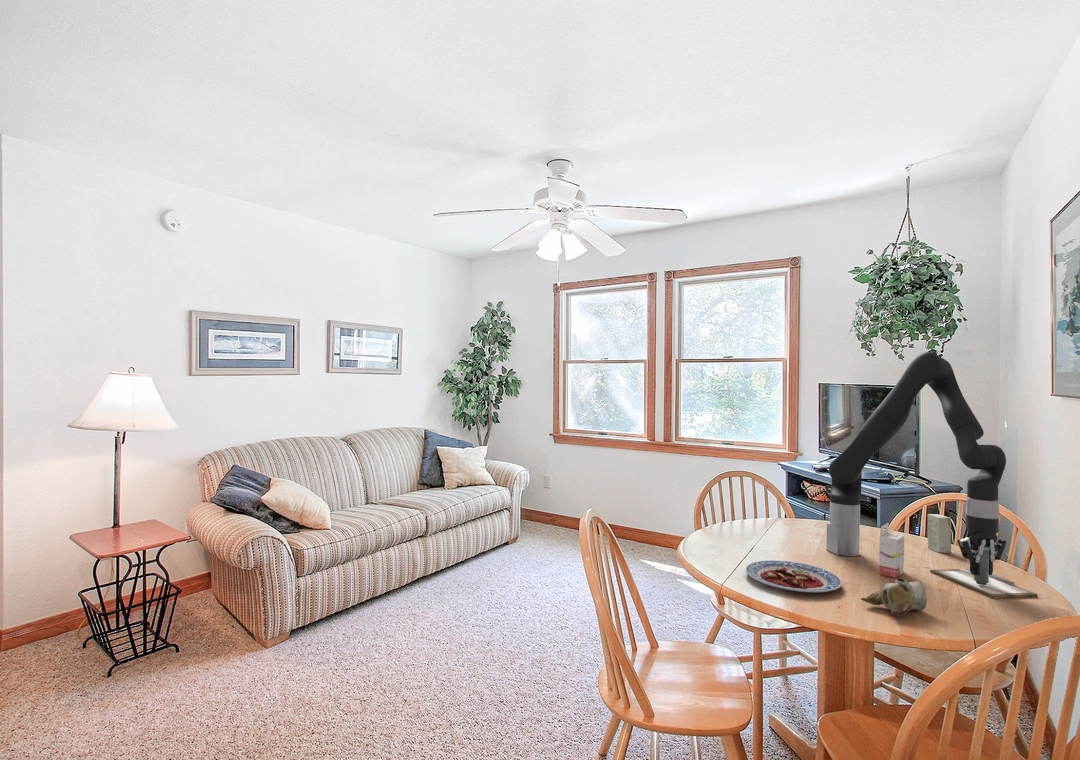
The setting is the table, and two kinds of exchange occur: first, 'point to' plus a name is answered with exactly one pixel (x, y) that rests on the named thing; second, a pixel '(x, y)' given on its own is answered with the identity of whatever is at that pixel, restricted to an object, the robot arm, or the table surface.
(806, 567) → the ceramic plate
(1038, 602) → the table surface
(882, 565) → the ink cartridge box
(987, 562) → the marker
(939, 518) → the skincare box
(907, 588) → the ceramic sculpture
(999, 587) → the clipboard
